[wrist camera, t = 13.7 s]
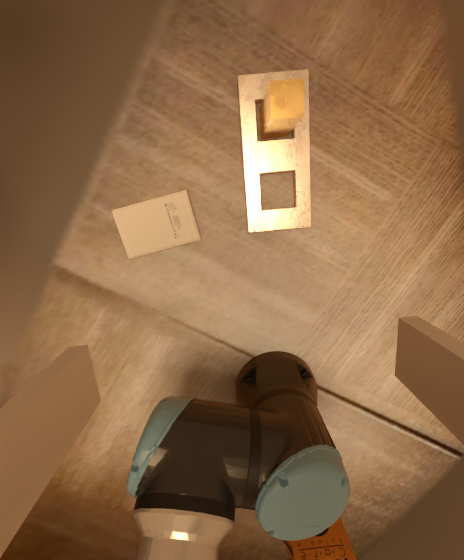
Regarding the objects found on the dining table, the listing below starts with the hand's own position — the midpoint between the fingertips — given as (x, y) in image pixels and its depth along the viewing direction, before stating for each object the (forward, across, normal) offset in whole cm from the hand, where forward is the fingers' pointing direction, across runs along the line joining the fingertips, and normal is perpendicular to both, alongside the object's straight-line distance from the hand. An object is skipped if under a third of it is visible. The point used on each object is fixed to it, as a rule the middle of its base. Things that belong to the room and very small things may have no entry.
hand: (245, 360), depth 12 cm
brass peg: (+37, -8, -18) cm, 42 cm away
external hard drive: (+38, +12, -4) cm, 40 cm away
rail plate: (+37, -8, -13) cm, 40 cm away
